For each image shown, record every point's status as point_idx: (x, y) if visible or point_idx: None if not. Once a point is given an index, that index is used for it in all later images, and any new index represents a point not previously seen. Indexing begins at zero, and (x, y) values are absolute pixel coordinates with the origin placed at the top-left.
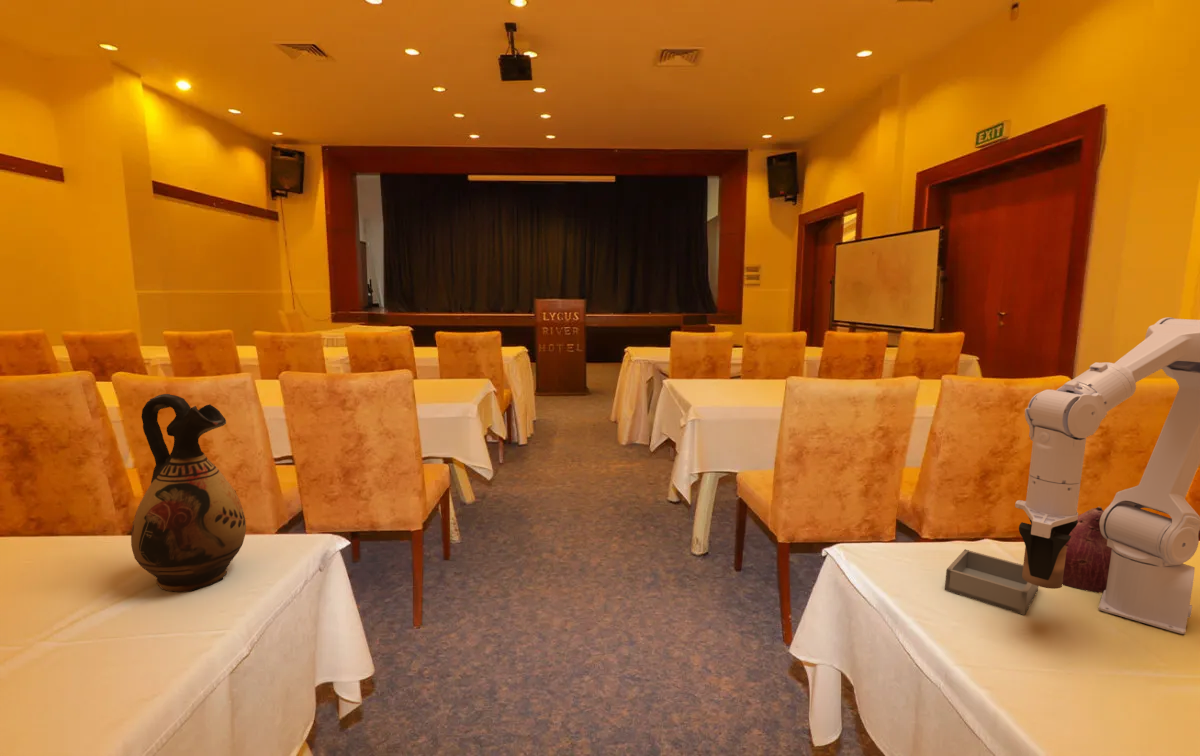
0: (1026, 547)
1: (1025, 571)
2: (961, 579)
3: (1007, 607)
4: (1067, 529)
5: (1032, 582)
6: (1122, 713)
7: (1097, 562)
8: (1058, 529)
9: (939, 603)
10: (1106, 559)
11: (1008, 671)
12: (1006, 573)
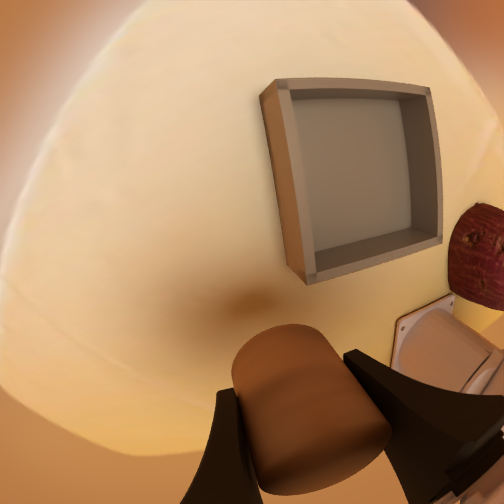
0: (193, 479)
1: (250, 363)
2: (277, 124)
3: (284, 233)
4: (408, 490)
5: (233, 370)
6: (117, 426)
7: (484, 301)
8: (410, 476)
9: (172, 122)
10: (491, 308)
11: (56, 332)
12: (417, 179)
